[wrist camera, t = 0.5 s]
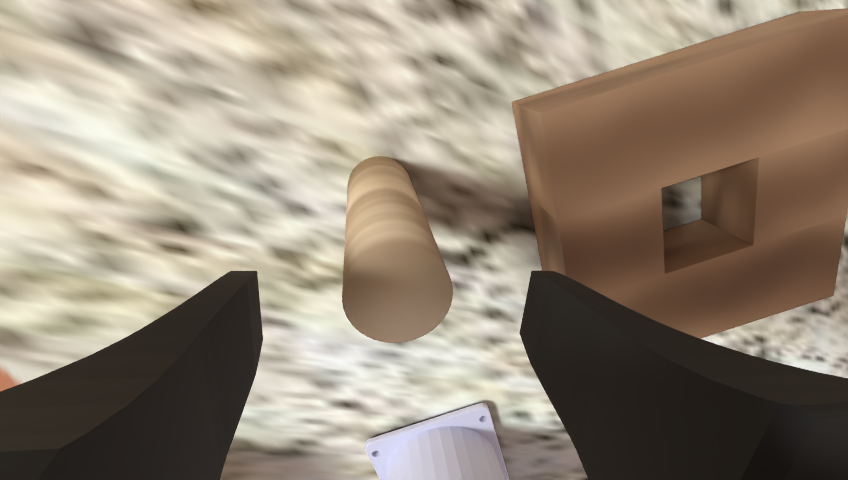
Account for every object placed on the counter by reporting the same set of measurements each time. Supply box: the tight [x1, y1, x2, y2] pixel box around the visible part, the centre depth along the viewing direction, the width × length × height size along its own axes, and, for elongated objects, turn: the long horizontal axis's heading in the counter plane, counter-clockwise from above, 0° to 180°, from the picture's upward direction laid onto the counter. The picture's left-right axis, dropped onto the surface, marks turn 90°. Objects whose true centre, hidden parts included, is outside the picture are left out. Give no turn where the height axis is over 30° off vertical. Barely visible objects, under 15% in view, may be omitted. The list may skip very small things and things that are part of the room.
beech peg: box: [342, 157, 453, 343], centre depth 16 cm, size 3×3×10 cm
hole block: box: [512, 8, 848, 339], centre depth 22 cm, size 14×14×4 cm
